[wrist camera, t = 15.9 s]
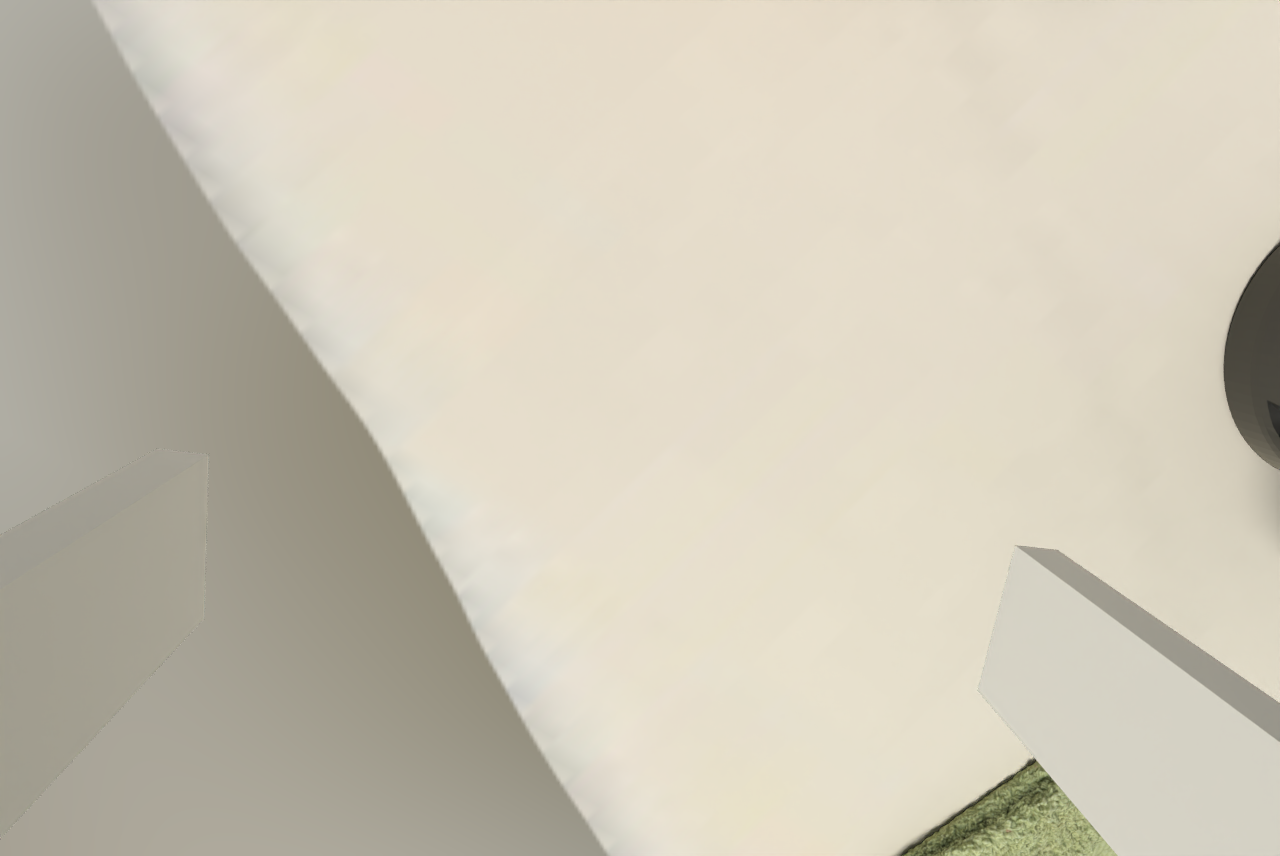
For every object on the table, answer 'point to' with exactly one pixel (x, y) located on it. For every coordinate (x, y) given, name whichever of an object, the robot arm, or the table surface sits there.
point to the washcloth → (1019, 824)
